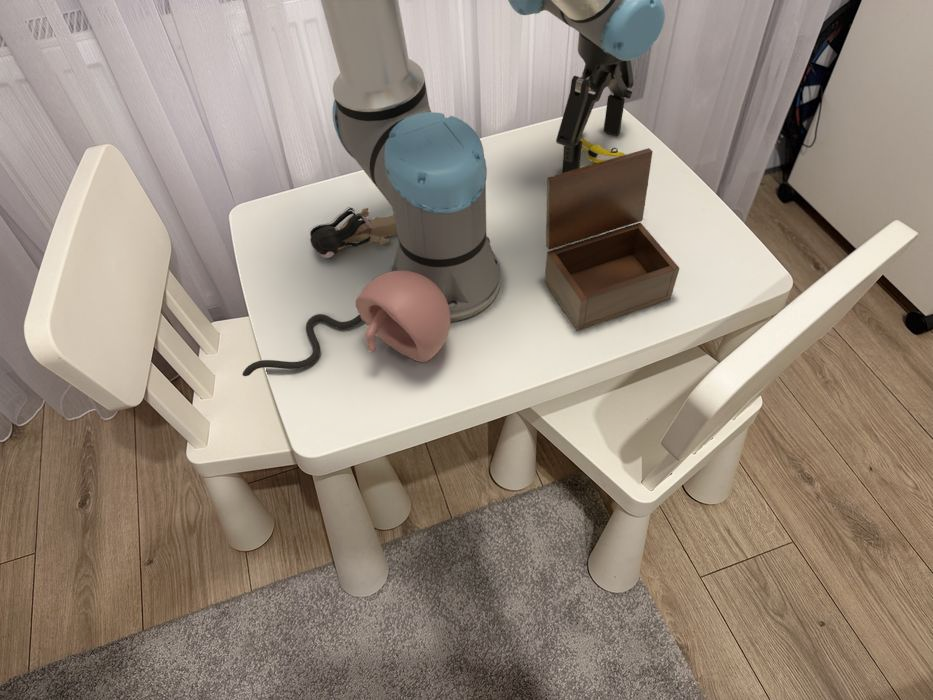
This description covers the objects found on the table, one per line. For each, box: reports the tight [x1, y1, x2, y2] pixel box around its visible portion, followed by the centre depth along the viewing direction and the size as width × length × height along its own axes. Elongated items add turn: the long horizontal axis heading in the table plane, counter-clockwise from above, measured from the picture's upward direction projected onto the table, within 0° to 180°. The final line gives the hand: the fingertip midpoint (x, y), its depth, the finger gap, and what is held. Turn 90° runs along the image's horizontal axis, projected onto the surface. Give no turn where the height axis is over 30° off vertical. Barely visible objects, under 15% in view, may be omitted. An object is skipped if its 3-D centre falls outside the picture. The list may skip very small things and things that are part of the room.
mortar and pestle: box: [354, 270, 451, 363], centre depth 84 cm, size 12×12×12 cm
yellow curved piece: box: [580, 138, 626, 164], centre depth 112 cm, size 10×6×4 cm, turn 38°
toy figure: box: [308, 206, 398, 259], centre depth 100 cm, size 7×6×15 cm
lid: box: [545, 147, 653, 251], centre depth 88 cm, size 11×14×1 cm
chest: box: [544, 222, 680, 332], centre depth 91 cm, size 10×14×6 cm
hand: (591, 153), depth 113 cm, fingers open, 13 cm apart
